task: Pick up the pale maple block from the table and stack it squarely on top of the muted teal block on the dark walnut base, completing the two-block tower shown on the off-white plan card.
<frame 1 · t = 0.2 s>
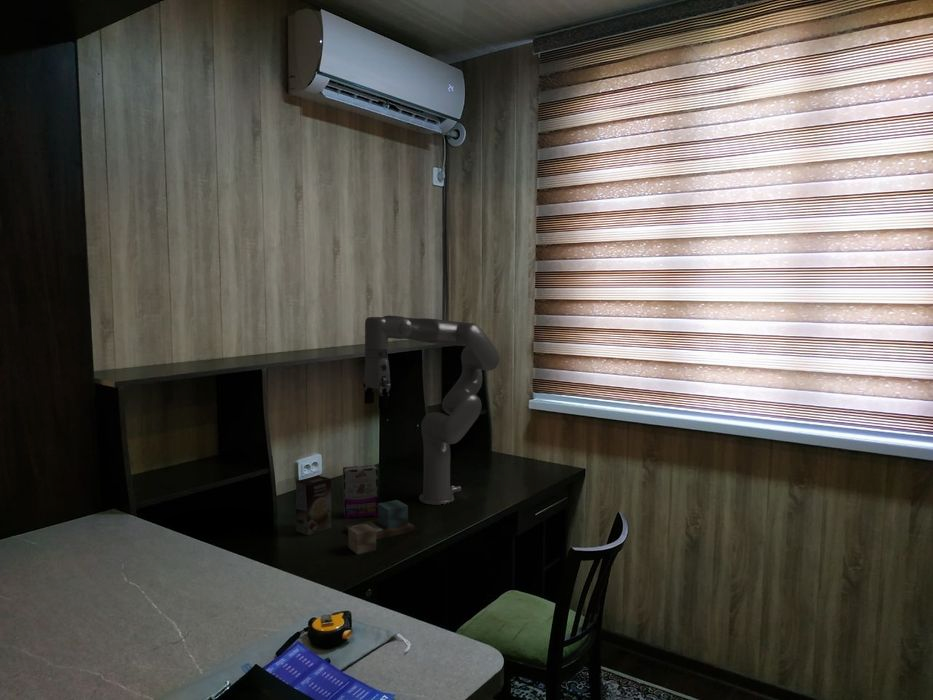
hand: (376, 405, 224), 37 cm above the table, tool pointing down, fingers open, 9 cm apart
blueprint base: (380, 530, 211), on the table
coffee box: (313, 530, 211), on the table
maple block: (362, 548, 197), on the table
candy bar box: (360, 515, 225), on the table
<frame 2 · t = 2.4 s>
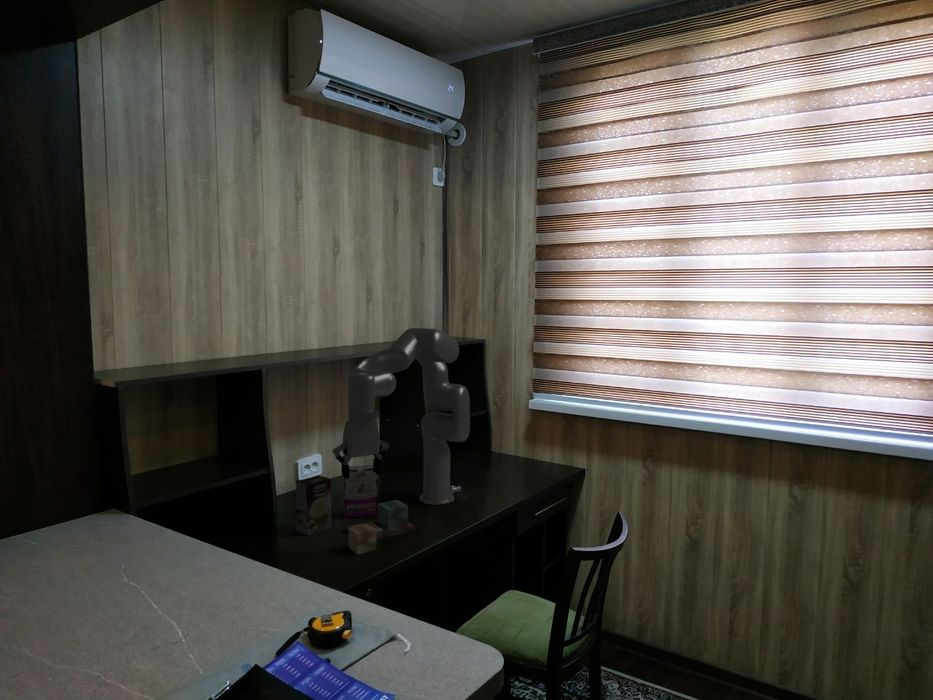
hand: (361, 475, 194), 22 cm above the table, tool pointing down, fingers open, 9 cm apart
nothing on the table moved.
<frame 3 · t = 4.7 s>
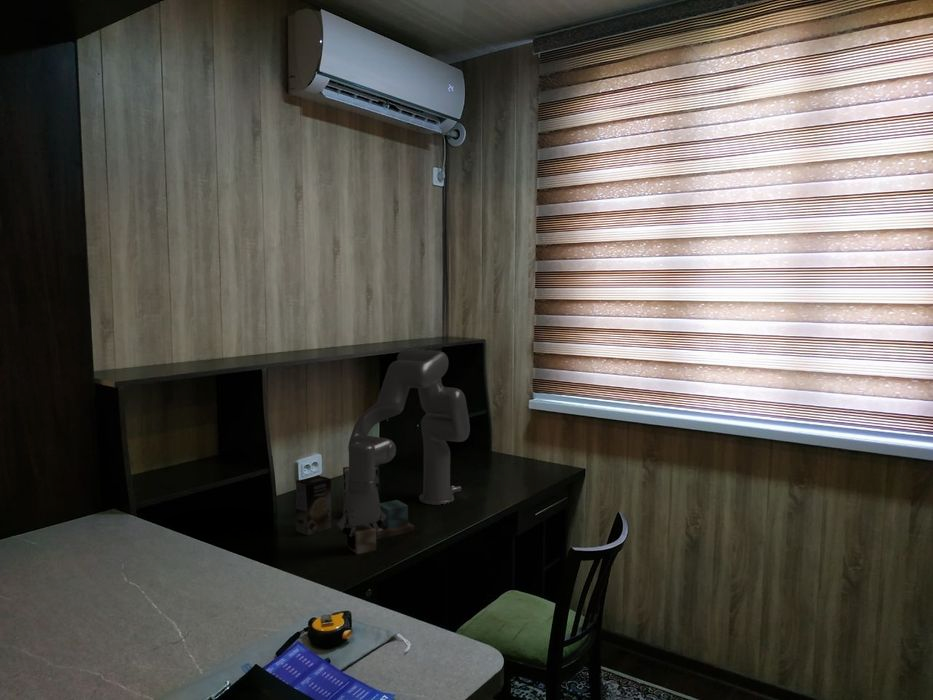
hand: (362, 545, 196), 1 cm above the table, tool pointing down, fingers closed on maple block, 6 cm apart
maple block: (362, 548, 196), on the table, touching gripper
everything else where it was.
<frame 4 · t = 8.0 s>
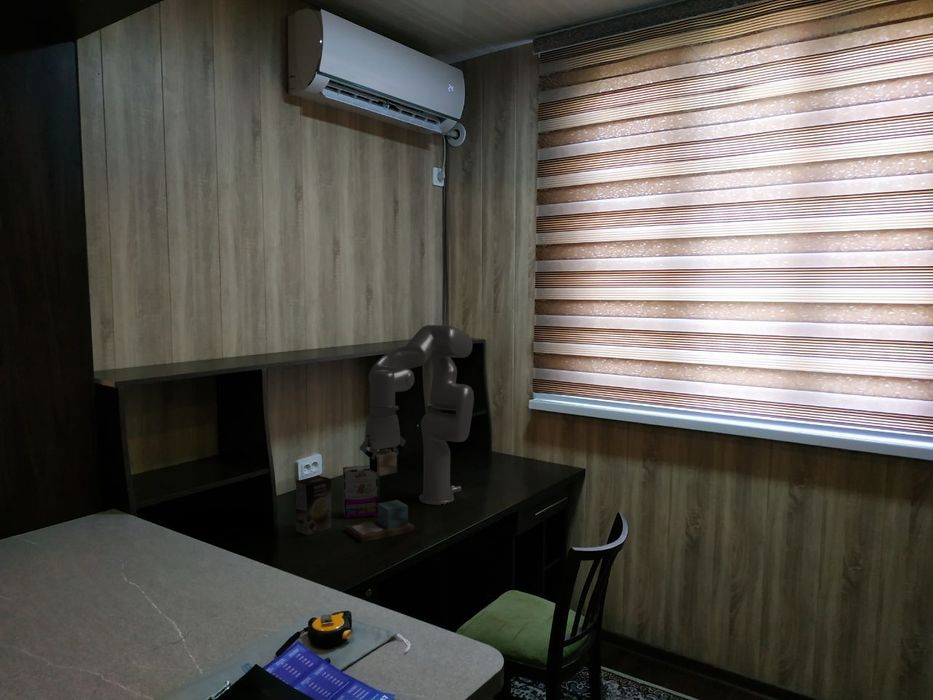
hand: (383, 468, 206), 21 cm above the table, tool pointing down, fingers closed on maple block, 6 cm apart
maple block: (383, 471, 206), point 20 cm above the table, touching gripper
everything else where it was.
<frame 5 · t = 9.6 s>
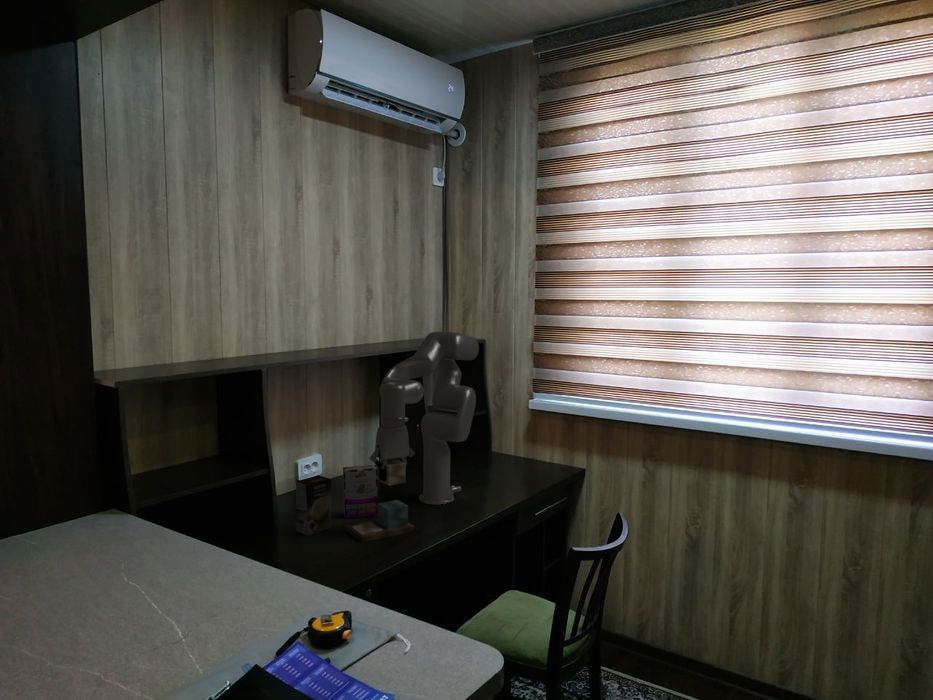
hand: (392, 478, 212), 16 cm above the table, tool pointing down, fingers closed on maple block, 6 cm apart
maple block: (392, 481, 212), point 15 cm above the table, touching gripper
everything else where it was.
when the fingers open (10 cm above the table, at t = 11.1 s): maple block drops 1 cm, resting on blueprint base.
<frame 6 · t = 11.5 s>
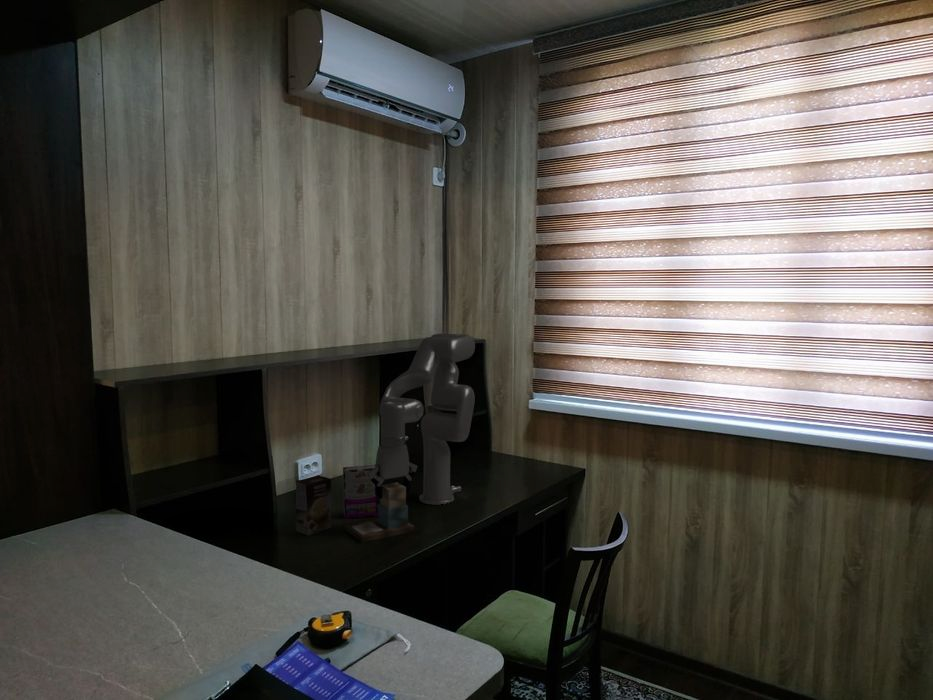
hand: (392, 494, 212), 11 cm above the table, tool pointing down, fingers open, 9 cm apart
maple block: (392, 504, 213), point 7 cm above the table, touching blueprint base
everything else where it was.
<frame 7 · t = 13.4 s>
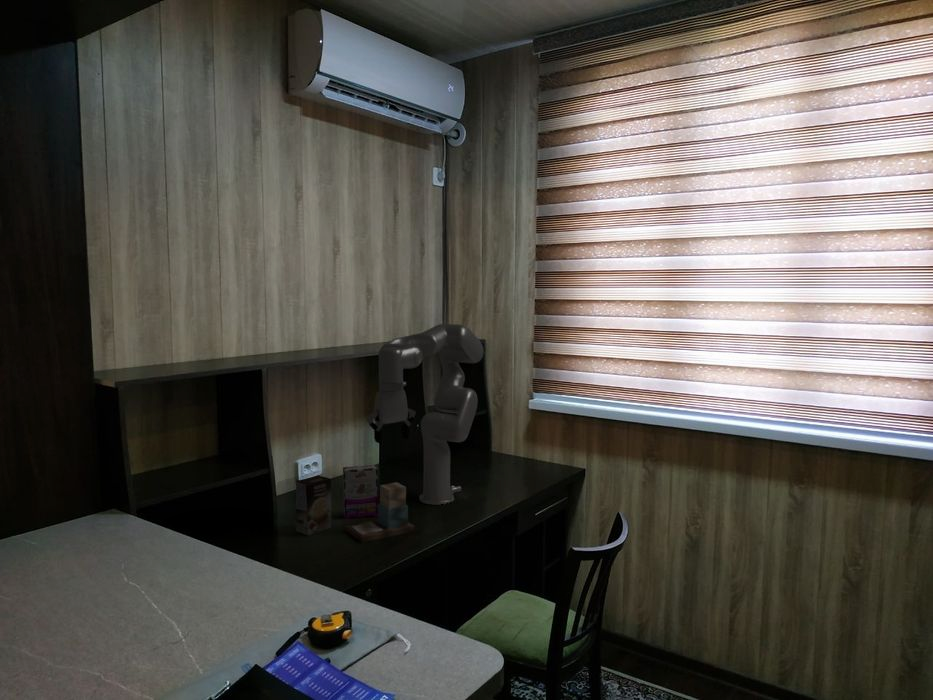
hand: (391, 440, 213), 28 cm above the table, tool pointing down, fingers open, 9 cm apart
nothing on the table moved.
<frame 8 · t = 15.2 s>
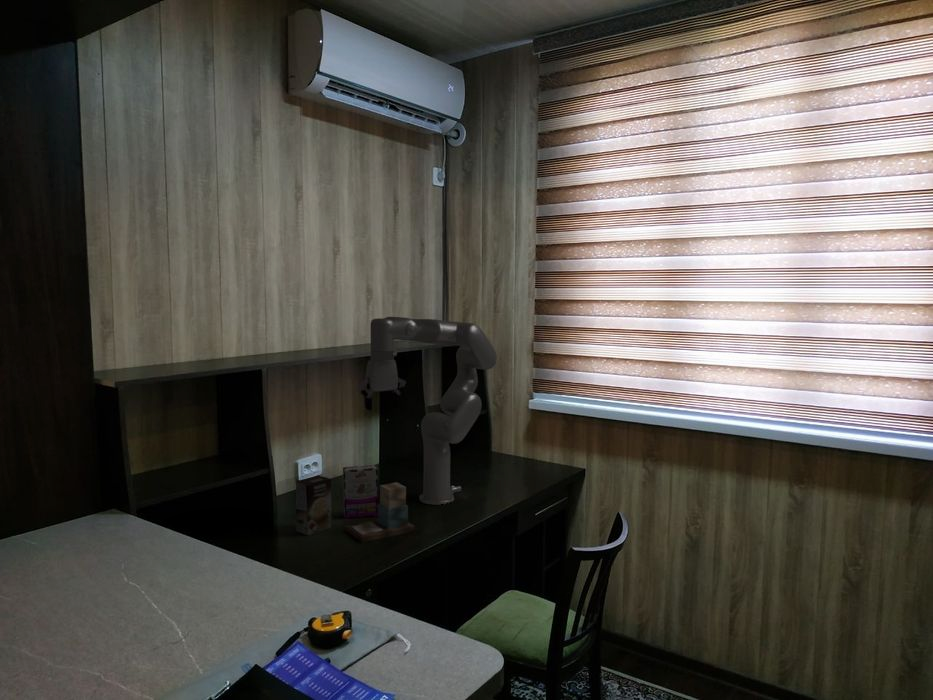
hand: (382, 408, 221), 36 cm above the table, tool pointing down, fingers open, 9 cm apart
nothing on the table moved.
at the end: maple block 0.0 cm from the target spot on the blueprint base, point 7.5 cm above the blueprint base's base; maple block tilted 0°; the gripper is holding nothing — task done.
